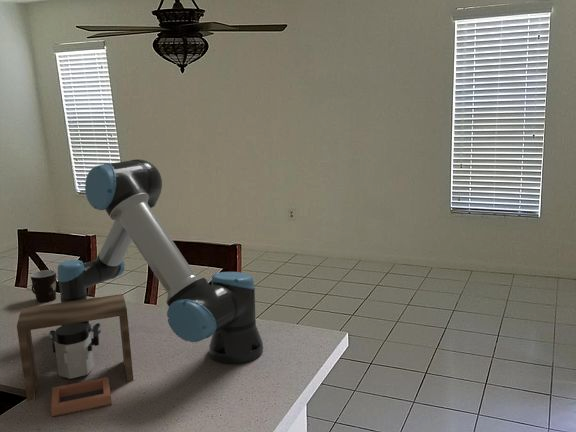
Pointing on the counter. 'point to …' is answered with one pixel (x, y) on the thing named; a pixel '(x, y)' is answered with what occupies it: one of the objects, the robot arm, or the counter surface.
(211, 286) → the robot arm
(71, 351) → the jar
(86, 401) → the tray
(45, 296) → the coffee mug
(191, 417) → the counter surface
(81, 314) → the archway
